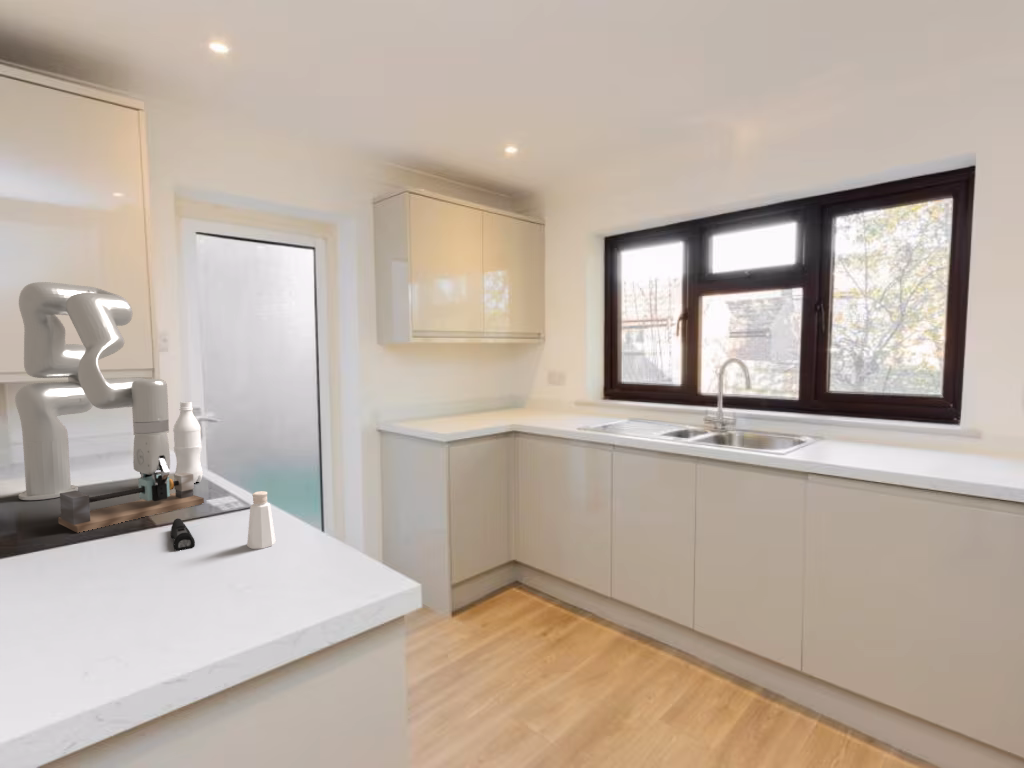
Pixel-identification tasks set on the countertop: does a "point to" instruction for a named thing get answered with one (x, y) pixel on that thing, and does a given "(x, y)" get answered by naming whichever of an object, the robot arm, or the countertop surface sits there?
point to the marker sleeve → (149, 487)
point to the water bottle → (188, 442)
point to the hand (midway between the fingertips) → (154, 497)
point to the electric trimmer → (181, 536)
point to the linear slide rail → (123, 505)
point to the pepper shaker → (260, 523)
